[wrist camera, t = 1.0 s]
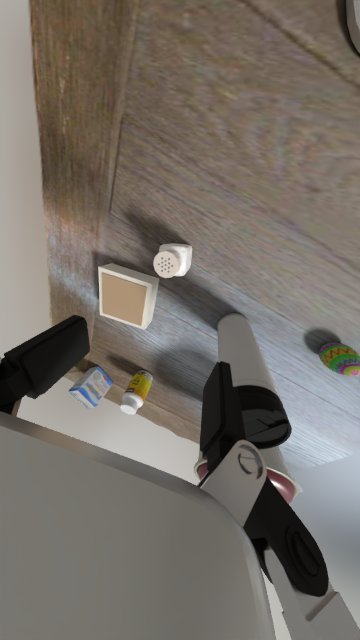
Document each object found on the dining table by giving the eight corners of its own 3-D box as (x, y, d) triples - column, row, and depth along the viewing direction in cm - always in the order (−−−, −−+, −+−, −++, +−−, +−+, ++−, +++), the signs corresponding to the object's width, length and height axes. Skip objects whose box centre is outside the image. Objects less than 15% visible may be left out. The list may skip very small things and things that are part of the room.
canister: (240, 367, 35) (268, 501, 17) (282, 408, 39) (341, 553, 21) (187, 392, 44) (169, 500, 26) (226, 423, 48) (234, 536, 30)
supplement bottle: (145, 367, 42) (127, 400, 33) (157, 379, 44) (143, 414, 35) (132, 372, 45) (112, 405, 36) (144, 384, 46) (128, 418, 37)
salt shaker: (193, 244, 25) (183, 248, 17) (190, 269, 27) (180, 283, 19) (170, 242, 25) (149, 245, 17) (169, 267, 27) (150, 279, 19)
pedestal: (111, 263, 29) (97, 266, 26) (159, 278, 29) (151, 284, 25) (111, 306, 34) (99, 315, 31) (151, 320, 34) (144, 330, 30)
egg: (349, 338, 27) (381, 361, 22) (341, 358, 29) (369, 384, 24) (317, 339, 28) (340, 362, 23) (312, 358, 31) (332, 383, 26)
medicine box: (114, 382, 49) (96, 407, 42) (104, 383, 51) (86, 409, 43) (99, 365, 46) (77, 389, 39) (89, 367, 48) (67, 391, 40)
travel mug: (210, 327, 32) (205, 432, 15) (233, 306, 29) (262, 409, 11) (231, 344, 33) (250, 460, 16) (256, 325, 30) (314, 446, 12)
